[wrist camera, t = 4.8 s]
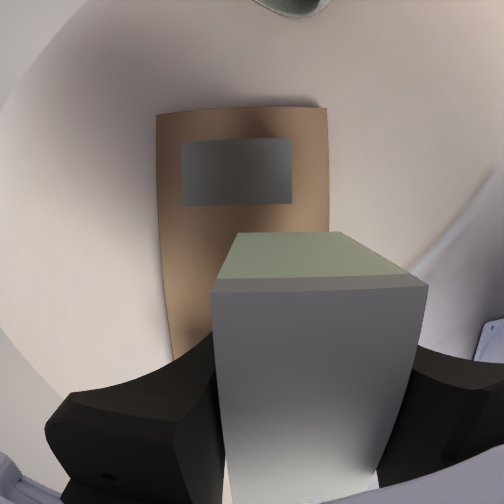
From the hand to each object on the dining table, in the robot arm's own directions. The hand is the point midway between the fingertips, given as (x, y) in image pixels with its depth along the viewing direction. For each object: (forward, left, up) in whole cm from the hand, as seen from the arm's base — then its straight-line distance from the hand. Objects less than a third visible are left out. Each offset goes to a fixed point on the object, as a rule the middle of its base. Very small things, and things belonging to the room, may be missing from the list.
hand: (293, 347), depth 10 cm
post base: (+2, 0, -9) cm, 9 cm away
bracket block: (0, 0, -2) cm, 2 cm away
